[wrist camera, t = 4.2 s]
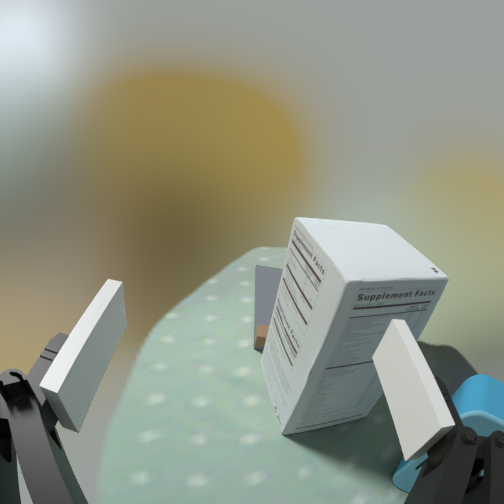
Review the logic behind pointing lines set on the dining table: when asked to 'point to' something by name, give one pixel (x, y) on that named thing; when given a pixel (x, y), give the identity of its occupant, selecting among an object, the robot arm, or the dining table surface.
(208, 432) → the dining table surface
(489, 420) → the data package
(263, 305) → the topple mat
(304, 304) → the supplement box
